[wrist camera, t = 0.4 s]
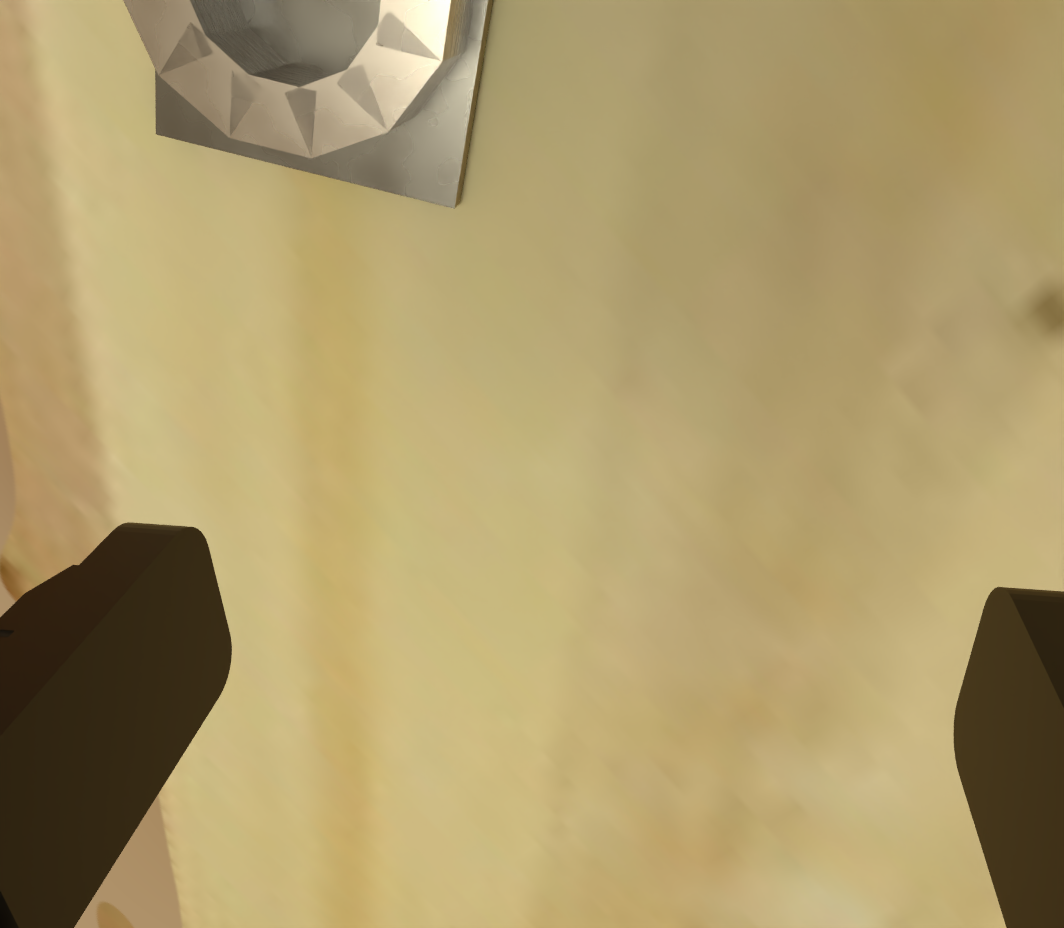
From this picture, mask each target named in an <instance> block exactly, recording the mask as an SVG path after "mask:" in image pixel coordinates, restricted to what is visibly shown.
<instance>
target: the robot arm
mask: <svg viewBox="0 0 1064 928" xmlns="http://www.w3.org/2000/svg"><path fill="white" fill-rule="evenodd" d="M231 655H232V645H231V637H230V632H229V628H228V624H227V620H226V616H225V612H224V607H223V603H222V599H221V595H220V591H219V587H218V583H217V579H216V575H215V571H214V567H213V563H212V559H211V555H210V551H209V547H208V544H207V541H206V539H205V537H204V535H203V534H202V532H201V531H199V530H198V529H197V528H194V527H185V526H171V525H157V524H143V523H124V524H122V525H120V526H118V527H117V528H116V529H114V530H113V531H112V532H111V533H110V534H109V535H108V536H107V537H106V538H105V539H104V540H103V541H102V542H101V543H100V544H99V545H98V546H97V548H96V549H95V550H94V551H93V552H92V553H91V554H90V555H89V556H88V557H87V558H86V559H85V560H84V561H83V562H82V563H81V564H80V565H72V566H70V567H69V568H67V569H65V570H64V571H62V572H60V573H59V574H57V575H55V576H54V577H52V578H50V579H48V580H47V581H45V582H43V583H42V584H40V585H38V586H37V587H35V588H33V589H32V590H30V591H28V592H26V593H25V594H24V595H23V596H22V597H21V598H20V599H19V600H18V601H17V602H16V603H15V604H14V605H13V606H12V607H11V608H10V609H9V610H8V611H6V612H5V613H4V614H3V615H2V616H1V617H0V928H74V927H75V925H76V924H77V922H78V920H79V919H80V917H81V916H82V914H83V913H84V911H85V909H86V908H87V906H88V905H89V903H90V901H91V900H92V898H93V897H94V895H95V893H96V892H97V890H98V889H99V887H100V886H101V884H102V882H103V880H104V879H105V877H106V876H107V874H108V873H109V871H110V870H111V868H112V866H113V865H114V863H115V862H116V860H117V858H118V857H119V855H120V854H121V852H122V851H123V849H124V847H125V846H126V844H127V843H128V841H129V839H130V838H131V836H132V834H133V833H134V832H135V830H136V828H137V827H138V825H139V824H140V822H141V820H142V818H143V817H144V815H145V814H146V812H147V811H148V809H149V808H150V806H151V804H152V803H153V801H154V800H155V798H156V797H157V795H158V793H159V792H160V790H161V789H162V787H163V785H164V784H165V782H166V781H167V779H168V777H169V776H170V774H171V773H172V771H173V770H174V768H175V766H176V765H177V763H178V762H179V760H180V758H181V757H182V755H183V754H184V752H185V750H186V749H187V747H188V746H189V744H190V743H191V741H192V739H193V738H194V736H195V735H196V733H197V731H198V730H199V728H200V727H201V725H202V723H203V722H204V720H205V719H206V717H207V716H208V714H209V712H210V711H211V709H212V708H213V706H214V704H215V703H216V701H217V700H218V698H219V696H220V695H221V693H222V691H223V688H224V686H225V684H226V681H227V678H228V674H229V670H230V664H231ZM954 750H955V758H956V764H957V768H958V772H959V776H960V779H961V782H962V785H963V789H964V792H965V795H966V798H967V802H968V805H969V808H970V811H971V814H972V818H973V821H974V824H975V827H976V831H977V834H978V837H979V840H980V843H981V847H982V850H983V853H984V856H985V860H986V863H987V866H988V869H989V872H990V876H991V879H992V882H993V885H994V889H995V892H996V895H997V898H998V901H999V905H1000V908H1001V911H1002V914H1003V917H1004V921H1005V924H1006V927H1007V928H1064V592H1061V591H1047V590H1033V589H1019V588H1005V587H997V588H995V589H994V590H993V591H992V592H991V593H990V595H989V596H988V598H987V600H986V603H985V606H984V609H983V613H982V616H981V620H980V623H979V627H978V631H977V634H976V638H975V641H974V645H973V648H972V652H971V655H970V659H969V662H968V666H967V669H966V673H965V676H964V680H963V684H962V687H961V691H960V694H959V698H958V701H957V705H956V710H955V718H954Z"/></svg>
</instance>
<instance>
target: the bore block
mask: <svg viewBox="0 0 1064 928" xmlns="http://www.w3.org/2000/svg"><path fill="white" fill-rule="evenodd" d="M123 1H124V3H125V5H126V7H127V9H128V11H129V13H130V16H131V18H132V20H133V22H134V24H135V26H136V28H137V31H138V33H139V35H140V37H141V39H142V41H143V43H144V45H145V48H146V50H147V52H148V54H149V56H150V58H151V60H152V63H153V65H154V67H155V80H156V134H157V135H161V136H165V137H169V138H173V139H177V140H181V141H185V142H189V143H193V144H197V145H201V146H205V147H209V148H213V149H217V150H221V151H225V152H229V153H233V154H237V155H241V156H245V157H249V158H253V159H257V160H261V161H265V162H269V163H273V164H277V165H281V166H285V167H289V168H293V169H297V170H302V171H306V172H310V173H314V174H318V175H322V176H326V177H330V178H334V179H338V180H342V181H346V182H350V183H354V184H358V185H362V186H366V187H370V188H374V189H378V190H382V191H386V192H390V193H394V194H398V195H402V196H406V197H410V198H414V199H418V200H422V201H426V202H430V203H434V204H438V205H442V206H446V207H450V208H454V209H455V208H456V207H457V205H458V204H459V203H460V201H461V195H462V189H463V182H464V176H465V170H466V164H467V158H468V152H469V146H470V140H471V133H472V127H473V121H474V115H475V109H476V103H477V97H478V91H479V85H480V78H481V72H482V66H483V60H484V54H485V48H486V42H487V36H488V30H489V23H490V17H491V11H492V5H493V0H123Z"/></svg>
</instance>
